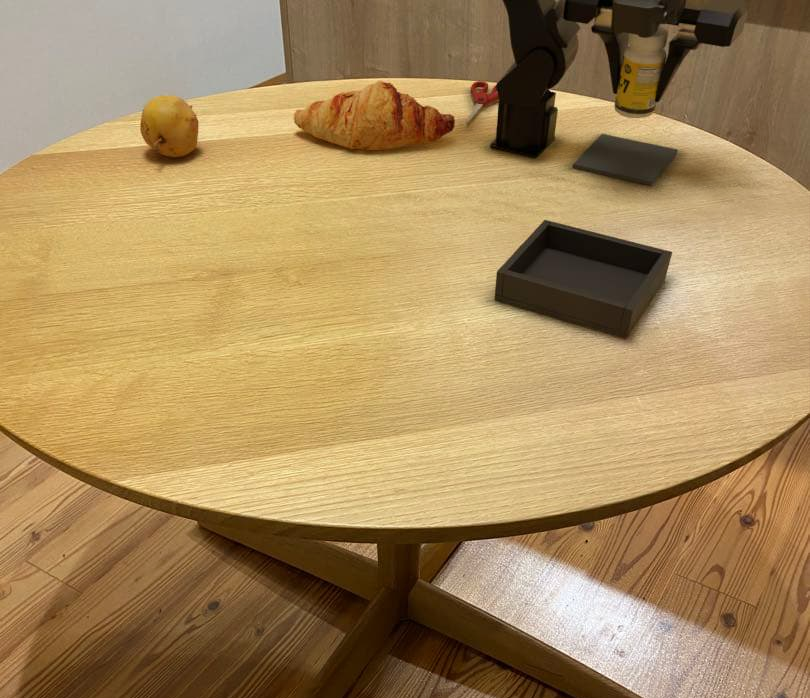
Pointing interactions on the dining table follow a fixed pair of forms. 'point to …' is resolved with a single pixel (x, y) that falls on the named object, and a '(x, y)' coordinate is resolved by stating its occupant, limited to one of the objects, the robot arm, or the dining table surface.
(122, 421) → the dining table surface
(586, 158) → the mat
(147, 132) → the fruit
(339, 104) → the croissant
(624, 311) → the tray
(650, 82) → the supplement bottle
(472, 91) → the scissors
